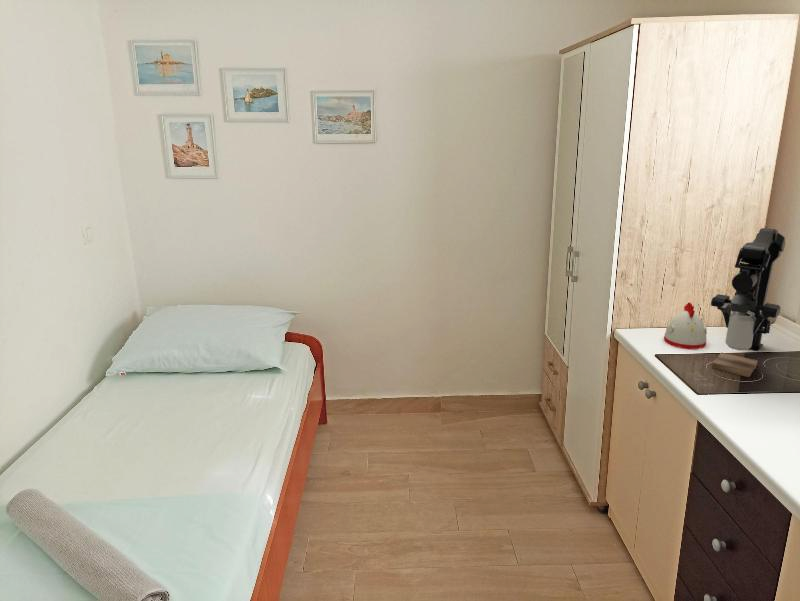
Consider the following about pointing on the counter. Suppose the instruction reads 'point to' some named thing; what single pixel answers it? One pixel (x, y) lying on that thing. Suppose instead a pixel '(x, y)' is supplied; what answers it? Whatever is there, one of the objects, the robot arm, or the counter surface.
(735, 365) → the brown flat square block
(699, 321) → the kitchen timer
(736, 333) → the can
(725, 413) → the counter surface
